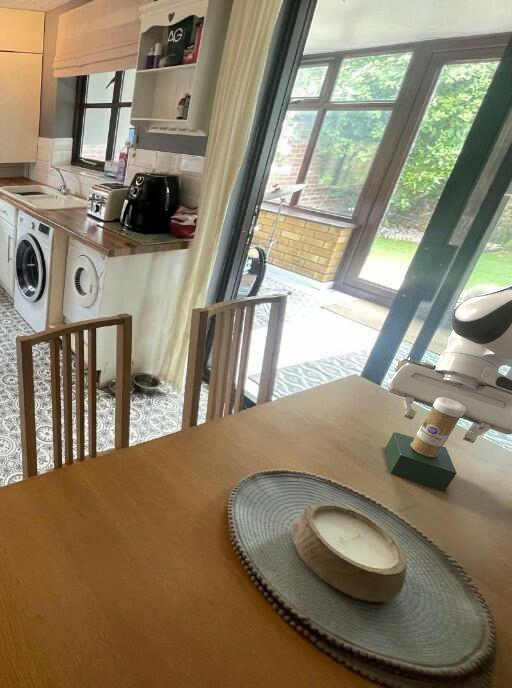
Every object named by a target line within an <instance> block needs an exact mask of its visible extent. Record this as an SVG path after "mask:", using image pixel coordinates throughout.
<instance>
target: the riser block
mask: <svg viewBox="0 0 512 688" xmlns="http://www.w3.org/2000/svg"><path fill="white" fill-rule="evenodd" d="M414 439H415V437H413V436H410V435H406V434H403V433H400V432H397V431H393V433H392V434H391V437H390V439H389V440H388V442H387V444H386V445H385V448H384V451H385V455H386V458H387V463H388V467H389V472H390V473H391V474H393V475H395V476H398V477H400V478H404V479H408V480H410V481H413V482H415V483H419V484H422V485H425V486H427V487H430V488H432V489H433V488H434V489H436V490H438V491H441V492H446V490H447V489H448V488H449V486H450V484H451V483H452V482H453V480H454V478H455V477H456V476H457V470H456V468H455V466H454V463H453V461H452V459H451V456H450V454H449V452H448V449H447V447H446V446H444V445H443V446H442V448H441V449H440V451H439V452H438V456H437V457H427V456H424V455H421V454H419V453H417V452H416V451H415V450H413V449H412V447H411V443H412V442H413V440H414Z"/></svg>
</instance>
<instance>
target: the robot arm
mask: <svg viewBox="0 0 512 688" xmlns="http://www.w3.org/2000/svg"><path fill="white" fill-rule="evenodd" d="M451 325H452V331H451V333H450V335H449V337H448V339H447V347H446V348H445V350H443V351H442V353H441V354H440V356H439V357H438V360H437V361H436V364H435V365H433V364H431V363H427V362H424V361H420V360H417V359H414V358H410V357H409V358H401V359H398V361H397V362H396V364H395V365H394V372H395V373H394V375H393V376H392V378H391V379H390V381H389V382H388V384H387V386H386V387H387V390H388V392H389V393H390V394H394V395H396V396H399V397H401V398H403V405H404V408H405V413H404V414H403V417H404V418H406V419H408V420H411V421H412V420H414V418H415V416H416V415H417V411H416V410H414V409H413V408H412V404H413V402H415V403H418V404H420V405H424V406H427V407H429V408H431V409H432V408H433V404H434V402H435V401H436V399H437V398H440V397H443V398H449V399H452V400H455V401H457V402H459V403H461V404H462V405H464V406H465V407H466V411H465V413H464V415H463V416H462V417H461V418H460V419H462V420H464V421H468V422H471V423H473V424H476V425H477V427H476V429H477V430H476V431H474V432H473V431H470V430H467V431H466V432H465V433H464V435H463V437H462V440H463V441H466V442H468V443H470V444H474V443H475V442H476V441H477V438H478V436H481V435H483V434H486V433H487V432H489V431H490V430H492V431H495V432H499V433H501V434H504V435H508V436H509V435H512V378H510V377H508V376H506V375H504V374H503V373H501V372H500V368H501V367H504V366H507V367H510V368H512V284H509V285H507V286H504V287H502V288H499V289H497V290H493V291H490V292H486V293H482V294H480V295H476V296H474V297H470V298H468V299H466V300H464V301H463V302H461V303H460V304H458V306H456V307H455V309H454V311H453V313H452V316H451Z"/></svg>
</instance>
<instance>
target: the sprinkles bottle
mask: <svg viewBox="0 0 512 688" xmlns="http://www.w3.org/2000/svg"><path fill="white" fill-rule="evenodd" d="M465 411H466V407H465V406H464V405H462V404H461V403H459V402H457V401H455V400H452V399H449V398H443V397H440V398H437V399H436V401H435V402H434V404H433V408H432V407H431V409H430V411H429V413H428V415H427V416H426V418H425V420H424V421H423V423H421V425H420V428H419V429H418V430H417V433H416V435H415V437H414V438H415V439H414V440H413V442H412V443H411V447H412V449H413V450H415V451H416V452H417V453H419V454H421V455H424V456H427V457H437V456H438V452H439V451H440V449H441V448H442V446H443V447H444V445H445V444H446V442H447V440H448V439H449V437H450V435H451V434H452V432H453V431H454V429H455V427H456V425H457V424H458V422H459V420H460V419H462V418H461V417H462V416H463V415H464V413H465Z"/></svg>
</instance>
